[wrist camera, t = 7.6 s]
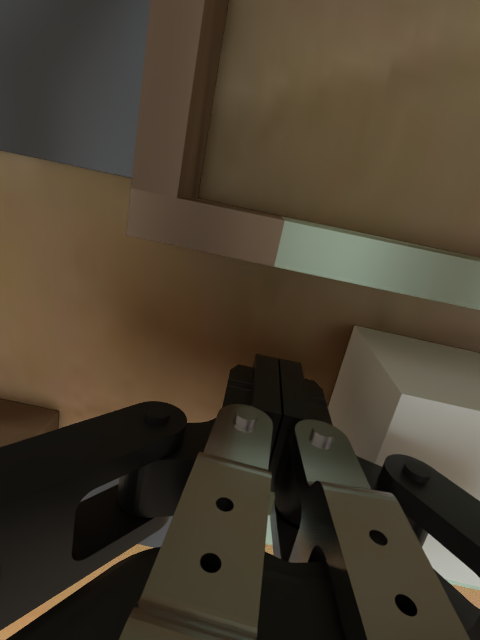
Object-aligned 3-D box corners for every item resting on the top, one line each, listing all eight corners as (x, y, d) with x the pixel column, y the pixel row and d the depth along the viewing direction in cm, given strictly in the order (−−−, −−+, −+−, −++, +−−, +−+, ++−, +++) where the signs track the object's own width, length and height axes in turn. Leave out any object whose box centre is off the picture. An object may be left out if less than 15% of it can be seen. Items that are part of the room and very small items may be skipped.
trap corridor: (774, -16, 10) (977, -102, 7) (449, 608, 17) (486, 690, 14) (-166, -207, 10) (-335, -367, 7) (-99, 489, 17) (-172, 546, 14)
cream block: (493, 356, 14) (615, 441, 9) (440, 470, 15) (520, 596, 10) (354, 325, 14) (401, 393, 9) (316, 442, 15) (339, 555, 10)
